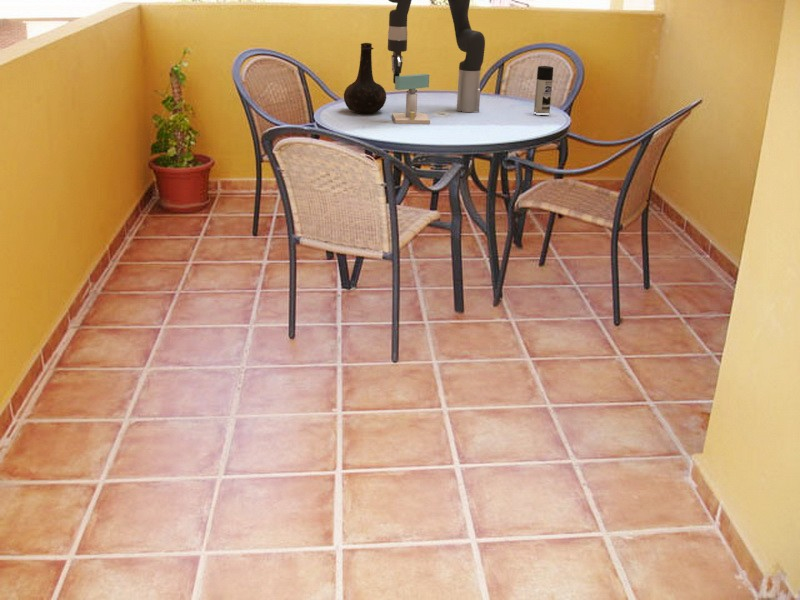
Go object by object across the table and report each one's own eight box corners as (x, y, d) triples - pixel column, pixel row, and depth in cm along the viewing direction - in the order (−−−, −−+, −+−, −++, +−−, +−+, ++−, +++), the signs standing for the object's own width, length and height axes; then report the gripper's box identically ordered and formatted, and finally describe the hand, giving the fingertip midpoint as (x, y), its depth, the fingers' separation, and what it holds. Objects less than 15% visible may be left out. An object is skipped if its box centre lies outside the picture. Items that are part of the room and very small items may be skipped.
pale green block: (424, 91, 343) (425, 73, 340) (428, 92, 341) (429, 74, 338) (394, 94, 335) (395, 76, 332) (398, 95, 333) (399, 77, 330)
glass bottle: (346, 116, 345) (347, 45, 334) (341, 108, 361) (341, 40, 350) (389, 116, 349) (391, 46, 338) (382, 108, 365) (383, 40, 354)
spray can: (542, 116, 358) (546, 68, 350) (530, 114, 362) (534, 66, 354) (552, 115, 362) (557, 67, 354) (540, 112, 366) (545, 65, 358)
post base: (425, 117, 349) (426, 91, 345) (430, 124, 337) (431, 97, 332) (392, 116, 348) (392, 90, 344) (395, 123, 335) (396, 96, 331)
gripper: (385, 36, 334) (384, 80, 341) (390, 40, 322) (389, 86, 329) (404, 36, 335) (402, 80, 342) (409, 40, 323) (408, 86, 330)
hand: (396, 83), depth 336 cm, fingers closed
